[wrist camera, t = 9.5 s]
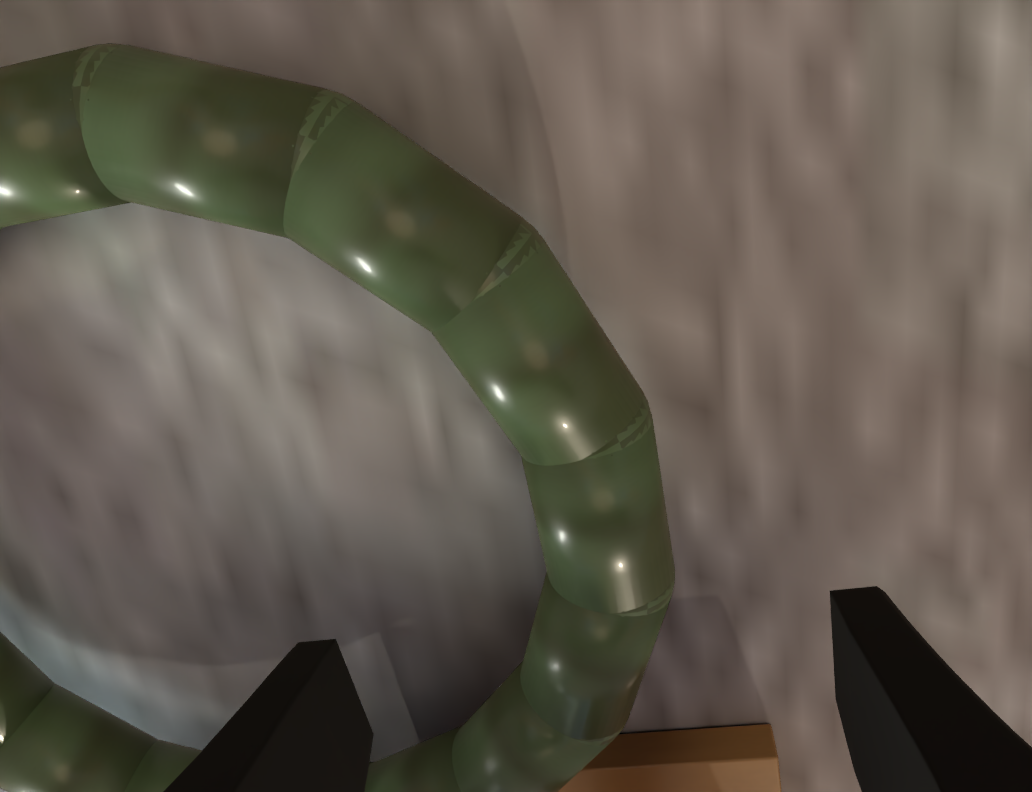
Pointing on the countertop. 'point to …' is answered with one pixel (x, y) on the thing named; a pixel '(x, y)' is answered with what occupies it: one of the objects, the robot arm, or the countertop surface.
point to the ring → (428, 301)
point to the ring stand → (685, 762)
